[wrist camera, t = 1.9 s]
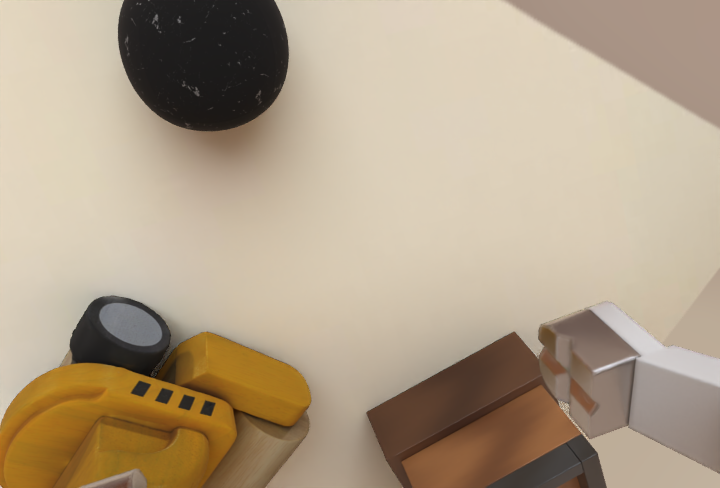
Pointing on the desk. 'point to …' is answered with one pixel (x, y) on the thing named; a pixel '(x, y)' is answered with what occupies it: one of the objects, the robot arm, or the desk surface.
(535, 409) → the brown wooden box
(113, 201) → the desk surface
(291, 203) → the desk surface
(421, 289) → the desk surface
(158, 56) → the billiard ball
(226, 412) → the toy roller
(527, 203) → the desk surface
